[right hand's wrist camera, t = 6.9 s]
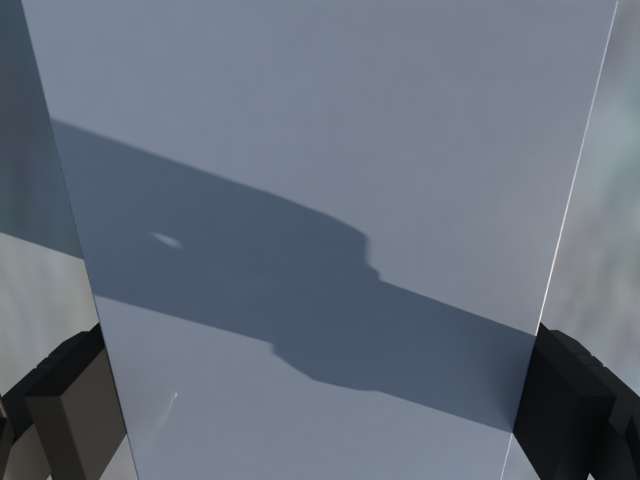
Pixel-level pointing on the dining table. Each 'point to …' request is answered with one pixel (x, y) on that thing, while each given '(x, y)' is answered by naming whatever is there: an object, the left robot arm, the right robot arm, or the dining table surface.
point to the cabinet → (319, 220)
